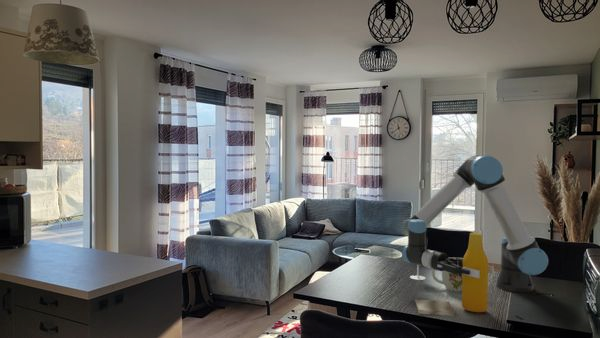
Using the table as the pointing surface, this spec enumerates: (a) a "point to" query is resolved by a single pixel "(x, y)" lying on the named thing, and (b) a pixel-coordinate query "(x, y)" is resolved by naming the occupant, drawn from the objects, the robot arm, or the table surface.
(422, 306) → the birch board
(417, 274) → the wineglass
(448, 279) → the pitcher
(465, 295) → the beer bottle
